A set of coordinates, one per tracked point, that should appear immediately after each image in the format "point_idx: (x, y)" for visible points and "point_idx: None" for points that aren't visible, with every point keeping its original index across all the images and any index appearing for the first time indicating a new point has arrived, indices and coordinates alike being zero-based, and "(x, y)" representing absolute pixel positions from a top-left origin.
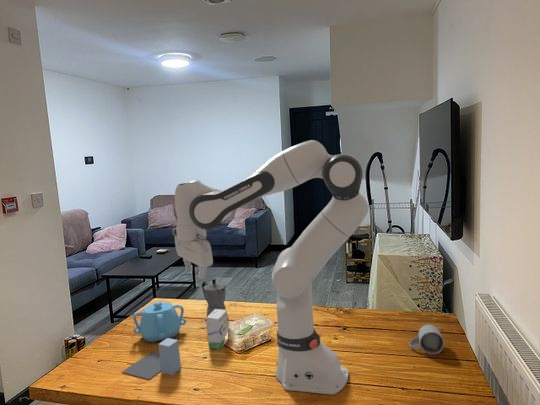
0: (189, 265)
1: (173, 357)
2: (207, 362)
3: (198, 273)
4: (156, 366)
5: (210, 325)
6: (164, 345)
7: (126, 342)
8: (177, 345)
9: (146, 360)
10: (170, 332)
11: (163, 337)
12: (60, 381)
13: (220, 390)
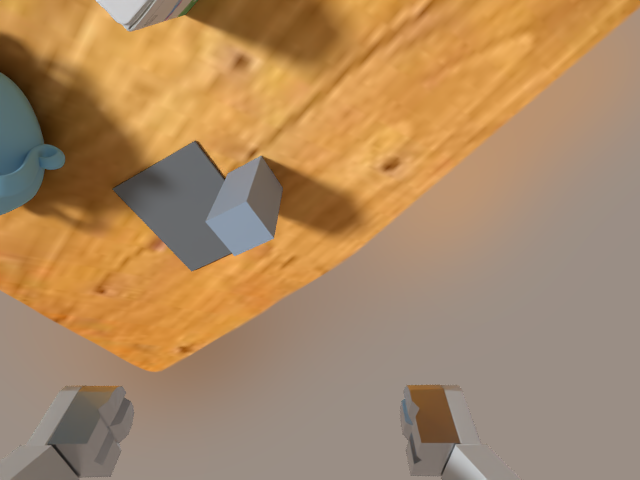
0: (61, 459)
1: (271, 202)
2: (280, 72)
3: (426, 468)
4: (212, 205)
5: (159, 12)
6: (256, 245)
7: (8, 222)
8: (252, 197)
9: (163, 215)
10: (30, 121)
11: (63, 153)
12: (161, 350)
13: (450, 117)
